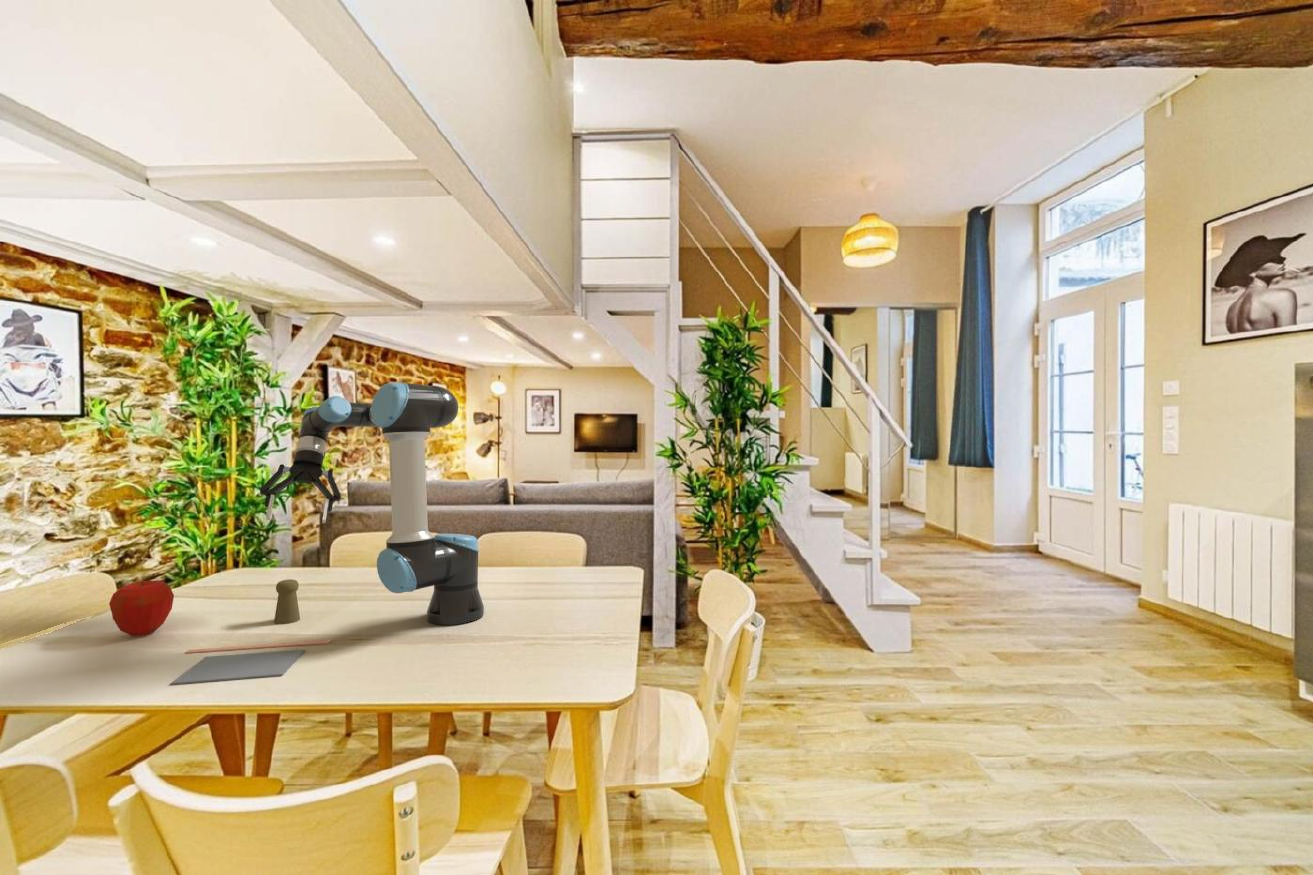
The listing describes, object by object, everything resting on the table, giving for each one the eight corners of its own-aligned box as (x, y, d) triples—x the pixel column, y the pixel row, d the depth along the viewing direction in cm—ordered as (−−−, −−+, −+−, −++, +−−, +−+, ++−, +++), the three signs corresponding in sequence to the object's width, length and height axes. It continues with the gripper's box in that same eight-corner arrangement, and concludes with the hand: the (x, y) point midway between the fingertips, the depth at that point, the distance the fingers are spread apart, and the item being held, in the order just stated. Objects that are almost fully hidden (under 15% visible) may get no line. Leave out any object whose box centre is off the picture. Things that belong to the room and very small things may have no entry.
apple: (107, 633, 144) (107, 578, 144) (169, 622, 153) (169, 570, 153) (111, 646, 136) (111, 587, 136) (176, 634, 144) (177, 578, 144)
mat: (304, 651, 135) (305, 649, 135) (282, 675, 121) (282, 674, 121) (205, 658, 130) (205, 656, 130) (170, 685, 116) (170, 683, 116)
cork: (281, 617, 159) (282, 577, 159) (304, 616, 159) (304, 577, 159) (268, 624, 153) (269, 583, 152) (292, 624, 153) (293, 583, 153)
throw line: (331, 641, 141) (331, 639, 141) (329, 643, 140) (329, 642, 140) (188, 651, 134) (188, 649, 134) (184, 653, 132) (184, 652, 132)
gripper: (354, 465, 182) (344, 527, 171) (261, 455, 170) (244, 521, 160) (356, 453, 176) (346, 517, 166) (259, 442, 165) (242, 510, 154)
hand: (296, 519), depth 163 cm, fingers open, 13 cm apart
